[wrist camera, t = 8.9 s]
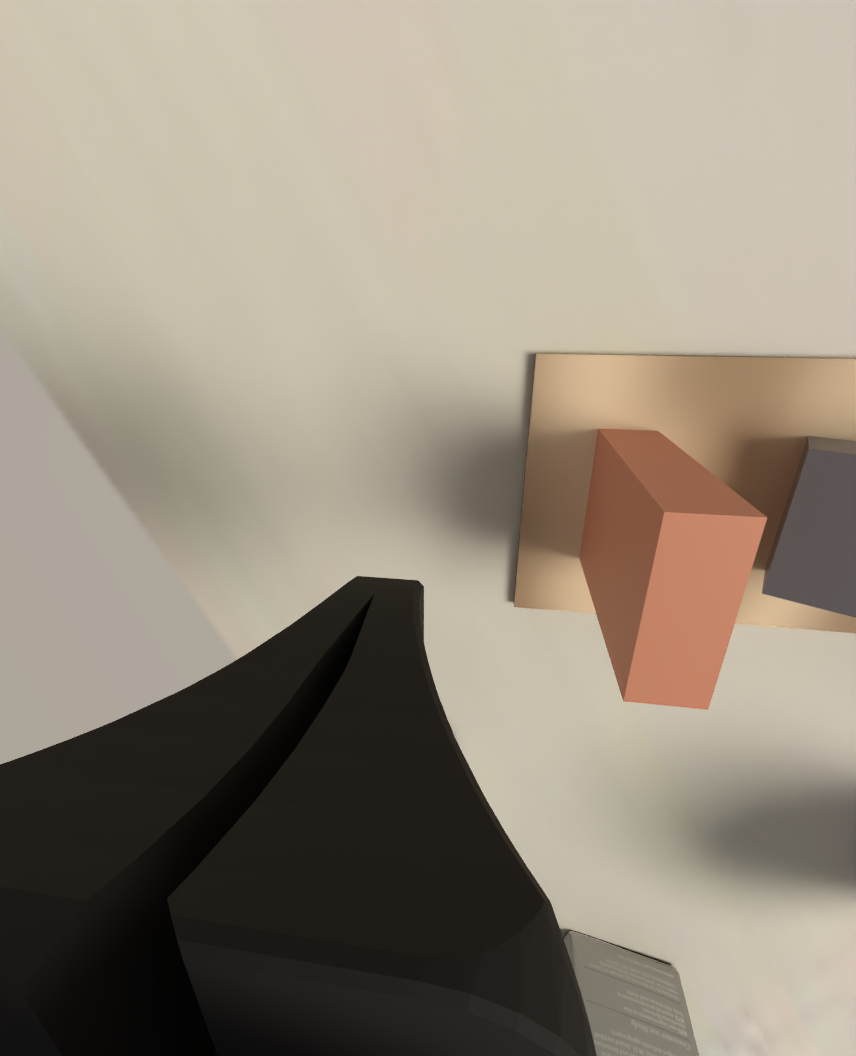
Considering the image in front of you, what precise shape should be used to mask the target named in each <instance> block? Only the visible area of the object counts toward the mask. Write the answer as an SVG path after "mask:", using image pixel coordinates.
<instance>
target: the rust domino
mask: <svg viewBox="0 0 856 1056" xmlns="http://www.w3.org/2000/svg"><path fill="white" fill-rule="evenodd" d="M766 521H767V517H766V516H765V515H764V514H762V513H761V512H760V511H759V510H757V509H756V508H755V507H754V506H752V505H751V504H750V503H748V502H747V501H746V500H745V499H743V498H742V497H741V496H740V495H738V494H737V493H736V492H735V491H733V490H732V489H731V488H730V487H728V486H727V485H726V484H725V483H723V482H722V481H721V480H720V479H718V478H717V477H716V476H714V475H713V474H712V473H711V472H709V471H708V470H707V469H706V468H704V467H703V466H702V465H701V464H699V463H698V462H697V461H696V460H694V459H693V458H692V457H691V456H689V455H688V454H687V453H685V452H684V451H683V450H682V449H680V448H679V447H678V446H677V445H675V444H674V443H673V442H672V441H670V440H669V439H668V438H667V437H665V436H664V435H663V434H662V433H660V432H659V431H648V430H620V429H598V435H597V442H596V448H595V455H594V462H593V469H592V476H591V482H590V489H589V496H588V503H587V510H586V516H585V523H584V530H583V537H582V543H581V550H580V557H579V559H580V562H581V566H582V569H583V572H584V575H585V579H586V582H587V585H588V588H589V592H590V595H591V598H592V601H593V604H594V608H595V611H596V614H597V617H598V621H599V624H600V627H601V630H602V634H603V637H604V640H605V643H606V647H607V650H608V653H609V656H610V659H611V663H612V666H613V669H614V672H615V676H616V679H617V682H618V685H619V689H620V692H621V695H622V698H623V701H626V702H637V703H647V704H657V705H667V706H677V707H687V708H698V709H708V708H709V705H710V701H711V698H712V695H713V692H714V689H715V685H716V682H717V679H718V676H719V672H720V669H721V666H722V663H723V659H724V656H725V653H726V650H727V647H728V643H729V640H730V637H731V634H732V630H733V627H734V624H735V621H736V618H737V614H738V611H739V608H740V605H741V601H742V598H743V595H744V592H745V588H746V585H747V582H748V579H749V576H750V572H751V569H752V566H753V563H754V559H755V556H756V553H757V550H758V546H759V543H760V540H761V537H762V534H763V530H764V527H765V524H766Z"/></svg>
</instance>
